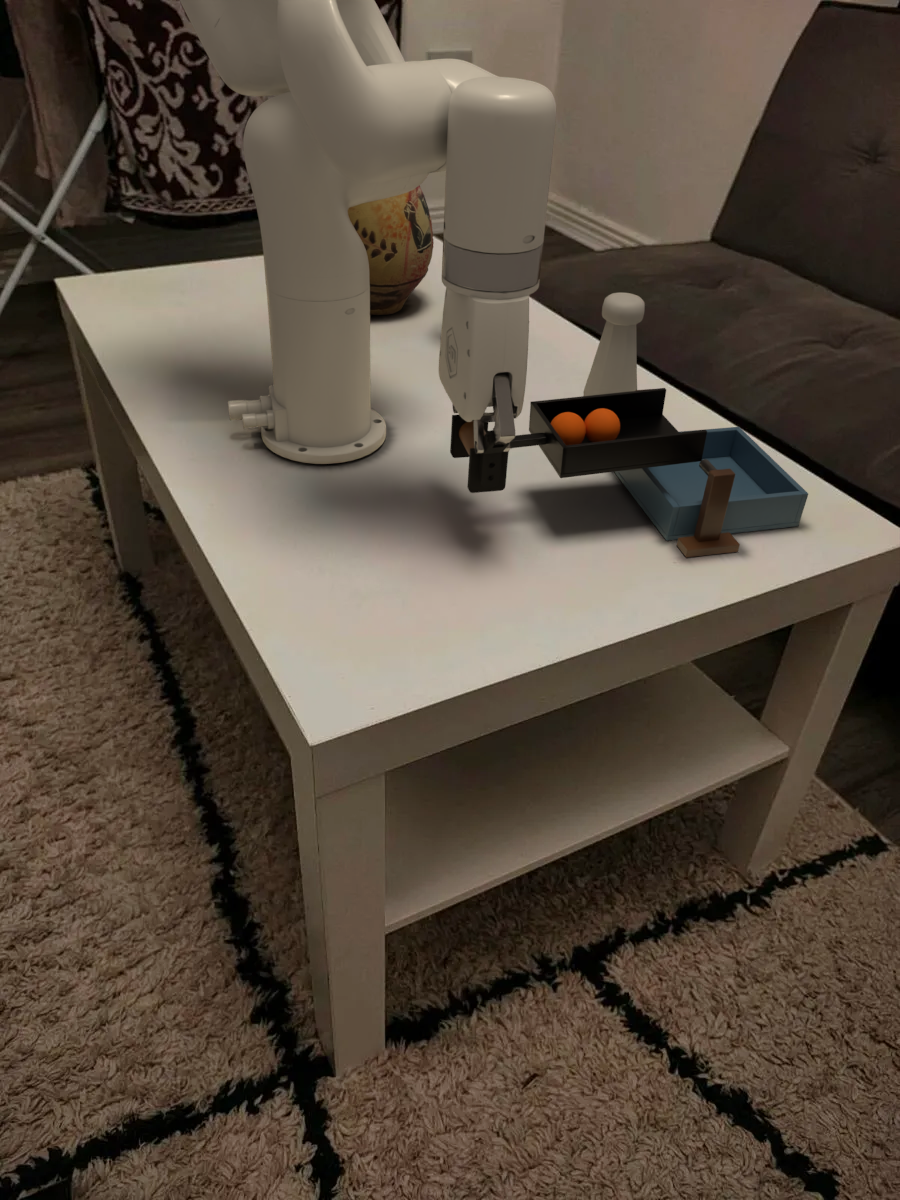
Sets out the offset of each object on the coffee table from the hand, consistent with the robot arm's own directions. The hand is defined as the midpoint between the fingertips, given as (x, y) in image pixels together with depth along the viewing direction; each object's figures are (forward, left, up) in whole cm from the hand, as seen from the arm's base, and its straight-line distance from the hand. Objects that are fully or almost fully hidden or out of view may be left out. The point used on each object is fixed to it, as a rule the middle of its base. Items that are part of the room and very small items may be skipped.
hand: (476, 470), depth 84 cm
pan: (+9, 0, +1) cm, 9 cm away
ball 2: (+11, 0, +3) cm, 12 cm away
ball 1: (+8, 0, +3) cm, 9 cm away
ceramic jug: (+1, +55, -5) cm, 55 cm away
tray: (+23, 0, -5) cm, 23 cm away
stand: (+19, 0, -5) cm, 20 cm away
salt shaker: (+20, +18, -5) cm, 27 cm away
